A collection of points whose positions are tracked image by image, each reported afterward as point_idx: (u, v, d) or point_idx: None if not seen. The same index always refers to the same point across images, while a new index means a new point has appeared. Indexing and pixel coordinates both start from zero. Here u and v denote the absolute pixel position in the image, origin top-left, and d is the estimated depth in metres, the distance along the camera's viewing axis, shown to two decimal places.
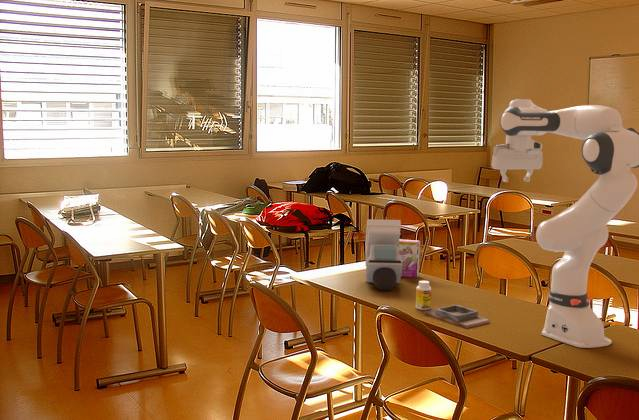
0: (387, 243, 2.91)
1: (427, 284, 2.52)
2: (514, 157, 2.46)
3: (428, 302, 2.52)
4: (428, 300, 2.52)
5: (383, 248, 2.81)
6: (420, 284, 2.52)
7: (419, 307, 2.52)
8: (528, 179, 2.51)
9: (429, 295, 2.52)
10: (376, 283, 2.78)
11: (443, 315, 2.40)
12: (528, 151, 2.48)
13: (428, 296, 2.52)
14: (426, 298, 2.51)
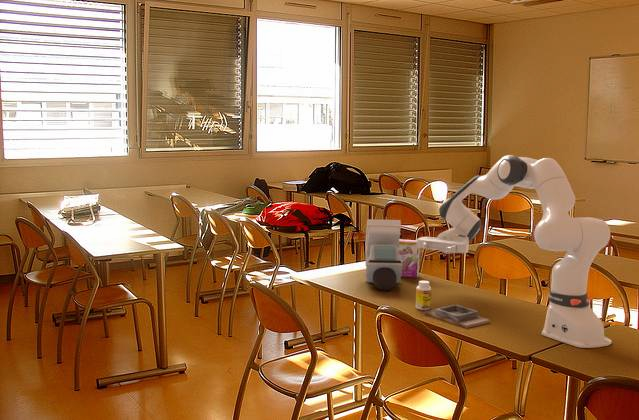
0: (387, 243, 2.91)
1: (427, 284, 2.52)
2: (438, 239, 2.71)
3: (428, 302, 2.52)
4: (428, 300, 2.52)
5: (383, 248, 2.81)
6: (420, 284, 2.52)
7: (419, 307, 2.52)
8: (449, 247, 2.61)
9: (429, 295, 2.52)
10: (376, 283, 2.78)
11: (443, 315, 2.40)
12: (453, 238, 2.71)
13: (428, 296, 2.52)
14: (426, 298, 2.51)
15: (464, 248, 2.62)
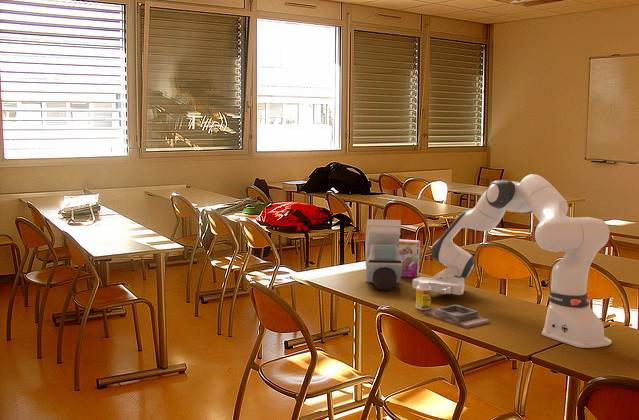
0: (387, 243, 2.91)
1: (427, 284, 2.52)
2: None
3: (428, 302, 2.52)
4: (428, 300, 2.52)
5: (383, 248, 2.81)
6: (420, 284, 2.52)
7: (419, 307, 2.52)
8: (444, 288, 2.59)
9: (429, 295, 2.52)
10: (376, 283, 2.78)
11: (443, 315, 2.40)
12: (448, 279, 2.69)
13: (428, 296, 2.52)
14: (426, 298, 2.51)
15: (459, 290, 2.61)
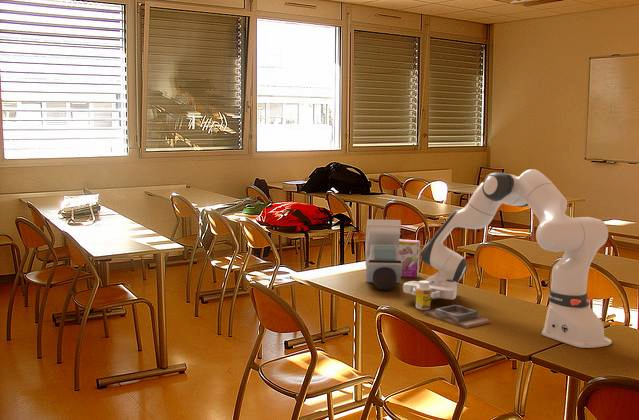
0: (387, 243, 2.91)
1: (427, 284, 2.52)
2: None
3: (428, 302, 2.52)
4: (428, 300, 2.52)
5: (383, 248, 2.81)
6: (420, 284, 2.52)
7: (419, 307, 2.52)
8: (432, 292, 2.52)
9: (429, 294, 2.52)
10: (376, 283, 2.78)
11: (443, 315, 2.40)
12: (440, 283, 2.61)
13: (428, 296, 2.52)
14: (426, 298, 2.51)
15: (452, 294, 2.53)
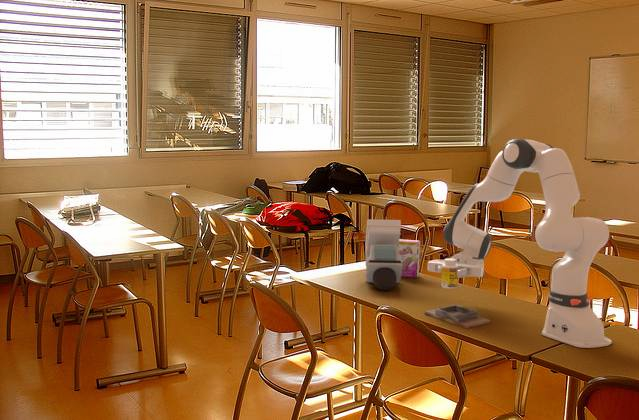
0: (387, 243, 2.91)
1: (453, 262, 2.41)
2: None
3: (455, 280, 2.41)
4: (455, 278, 2.41)
5: (383, 248, 2.81)
6: (446, 262, 2.42)
7: (445, 286, 2.42)
8: (459, 270, 2.41)
9: None
10: (376, 283, 2.78)
11: (443, 315, 2.40)
12: (466, 261, 2.50)
13: (454, 274, 2.41)
14: (452, 276, 2.41)
15: (479, 271, 2.42)
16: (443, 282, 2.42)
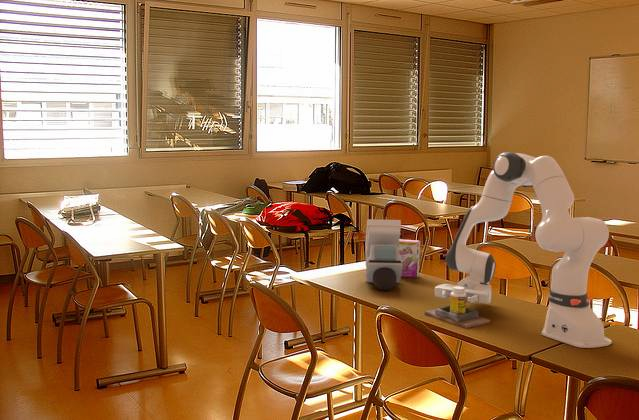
0: (387, 243, 2.91)
1: (462, 290, 2.39)
2: None
3: (463, 309, 2.40)
4: (463, 307, 2.40)
5: (383, 248, 2.81)
6: (455, 290, 2.40)
7: None
8: (470, 297, 2.39)
9: (464, 301, 2.40)
10: (376, 283, 2.78)
11: (443, 315, 2.40)
12: (474, 287, 2.49)
13: (463, 302, 2.39)
14: (461, 305, 2.39)
15: (487, 298, 2.41)
16: (451, 310, 2.41)
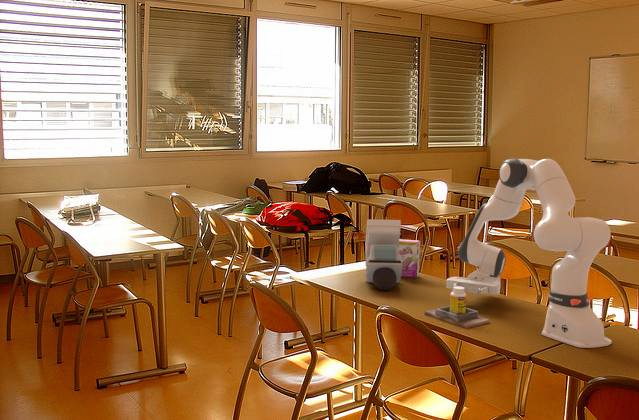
0: (387, 243, 2.91)
1: (462, 290, 2.39)
2: (468, 280, 2.61)
3: (463, 309, 2.40)
4: (463, 307, 2.40)
5: (383, 248, 2.81)
6: (455, 290, 2.40)
7: None
8: (481, 288, 2.50)
9: (464, 301, 2.40)
10: (376, 283, 2.78)
11: (443, 315, 2.40)
12: (484, 279, 2.60)
13: (463, 302, 2.39)
14: (461, 305, 2.39)
15: (496, 290, 2.52)
16: (451, 310, 2.41)
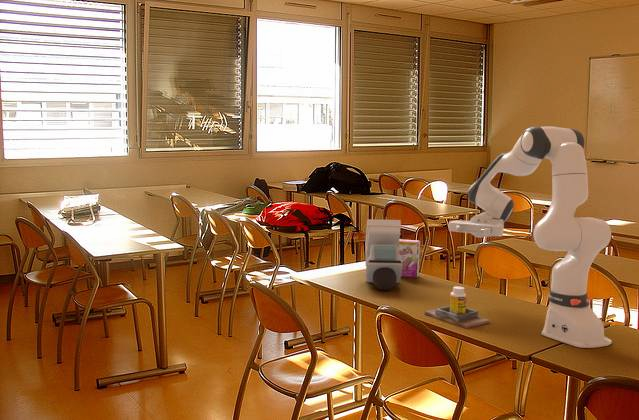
0: (387, 243, 2.91)
1: (462, 290, 2.39)
2: (471, 222, 2.58)
3: (463, 309, 2.40)
4: (463, 307, 2.40)
5: (383, 248, 2.81)
6: (455, 290, 2.40)
7: None
8: (484, 229, 2.48)
9: (464, 301, 2.40)
10: (376, 283, 2.78)
11: (443, 315, 2.40)
12: (487, 221, 2.57)
13: (463, 302, 2.39)
14: (461, 305, 2.39)
15: (500, 230, 2.49)
16: (451, 310, 2.41)
